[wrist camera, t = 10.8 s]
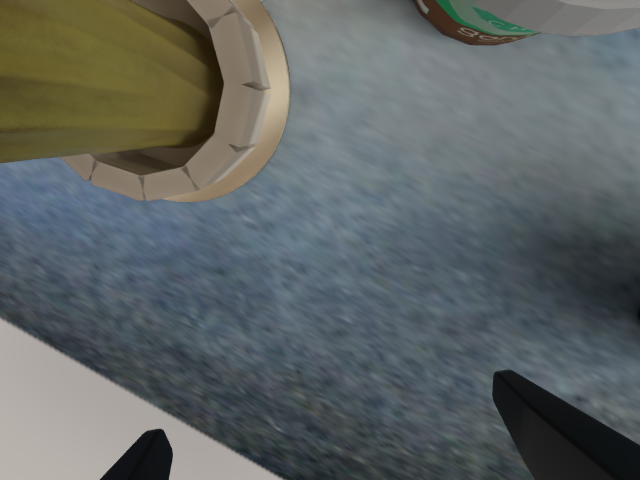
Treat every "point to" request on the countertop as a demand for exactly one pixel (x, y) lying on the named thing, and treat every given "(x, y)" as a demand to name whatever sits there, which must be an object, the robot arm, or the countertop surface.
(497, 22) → the food container
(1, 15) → the vase
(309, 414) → the countertop surface
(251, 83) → the collar stand
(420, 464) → the countertop surface
